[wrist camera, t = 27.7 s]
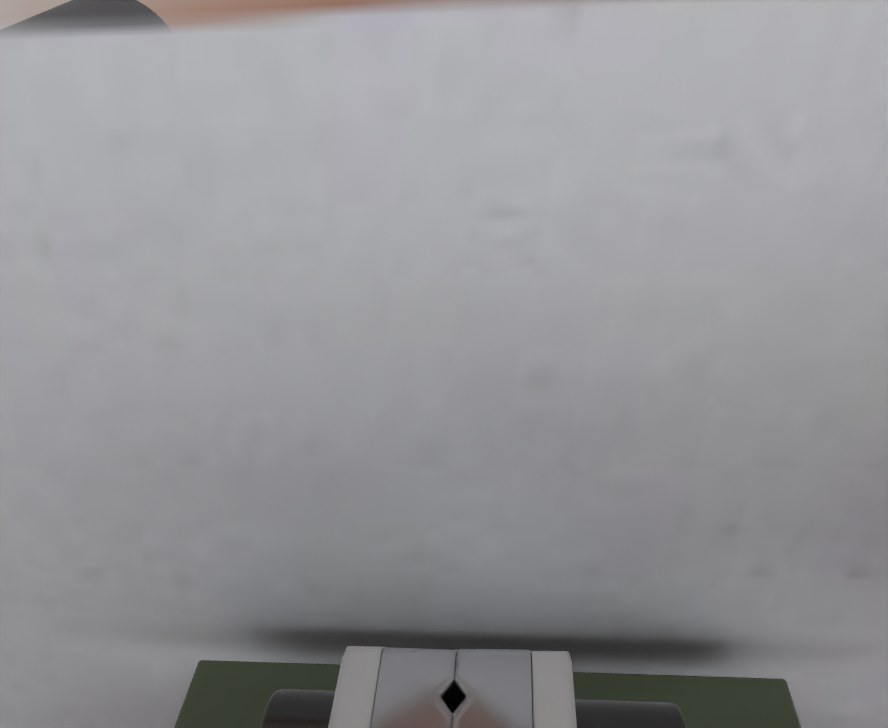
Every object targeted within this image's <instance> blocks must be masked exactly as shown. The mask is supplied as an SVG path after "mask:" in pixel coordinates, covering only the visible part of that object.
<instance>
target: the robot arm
mask: <svg viewBox="0 0 888 728" xmlns="http://www.w3.org/2000/svg"><path fill="white" fill-rule="evenodd" d="M328 728H577V723H576V710H575V697H574V684H573V671H572V660H571V657H570V654H569V651H532V652H531V653H530V650H524V649H458V650H445V649H418V648H391V647H374V646H347V648H346V650H345V652H344V655H343V657H342V661H341V666H340V671H339V676H338V681H337V686H336V691H335V696H334V701H333V706H332V711H331V716H330V721H329V726H328Z"/></svg>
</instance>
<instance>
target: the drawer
mask: <svg viewBox="0 0 888 728" xmlns="http://www.w3.org/2000/svg"><path fill="white" fill-rule="evenodd" d="M340 666H341V665H333V664H302V663H271V662H240V661H209V660H201V661H199V663H198V665H197V668H196V670H195V673H194V676H193V679H192V681H191V684H190V687H189V689H188V692H187V695H186V698H185V700H184V703H183V706H182V708H181V711H180V714H179V717H178V719H177V722H176V725H175V727H174V728H328V726H329V721H330V716H331V711H332V706H333V701H334V696H335V691H336V686H337V681H338V676H339V671H340ZM573 684H574V697H575V710H576V723H577V728H801V726H800V722H799V719H798V716H797V713H796V710H795V707H794V704H793V701H792V698H791V694H790V691H789V688H788V685H787V682H786V681H785V680H784V679H767V678H736V677H705V676H674V675H643V674H612V673H581V672H573Z"/></svg>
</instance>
